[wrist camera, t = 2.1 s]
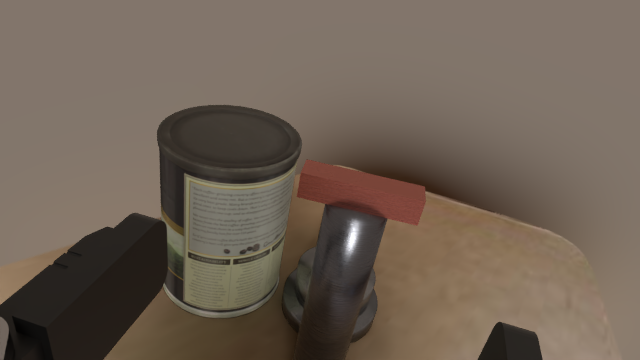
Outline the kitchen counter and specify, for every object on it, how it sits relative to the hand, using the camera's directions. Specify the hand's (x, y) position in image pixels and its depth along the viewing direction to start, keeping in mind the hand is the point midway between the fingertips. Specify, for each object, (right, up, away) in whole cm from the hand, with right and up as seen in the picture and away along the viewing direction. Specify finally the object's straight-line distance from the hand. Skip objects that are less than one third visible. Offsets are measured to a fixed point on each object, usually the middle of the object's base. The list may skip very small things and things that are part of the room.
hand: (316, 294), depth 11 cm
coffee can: (-9, -6, +29) cm, 31 cm away
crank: (+1, -7, +26) cm, 27 cm away
